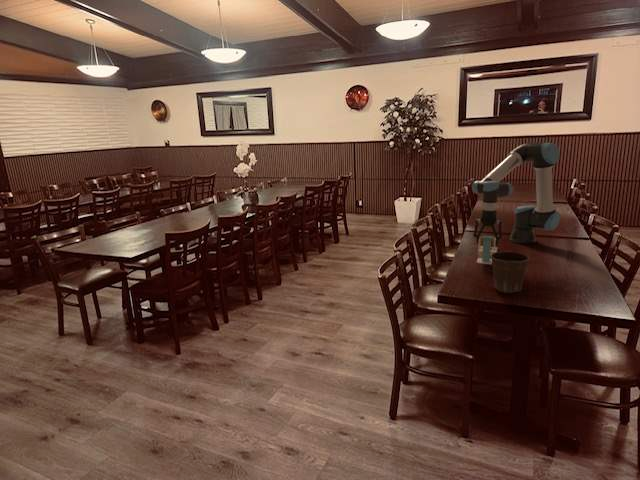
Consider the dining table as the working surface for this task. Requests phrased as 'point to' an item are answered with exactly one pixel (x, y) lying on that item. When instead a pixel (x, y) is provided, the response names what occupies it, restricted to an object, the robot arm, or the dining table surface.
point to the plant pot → (508, 271)
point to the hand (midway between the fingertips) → (486, 249)
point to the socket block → (482, 251)
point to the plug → (486, 248)
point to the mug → (491, 241)
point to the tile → (484, 261)
